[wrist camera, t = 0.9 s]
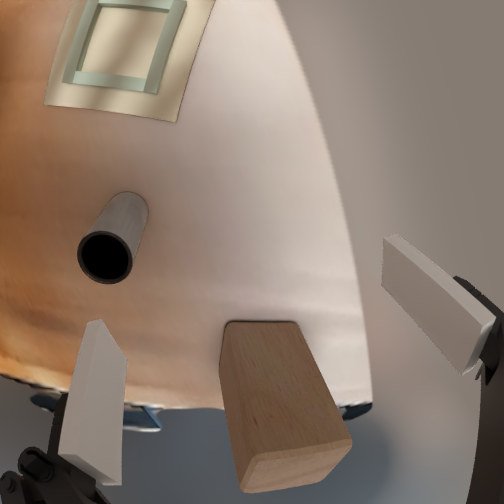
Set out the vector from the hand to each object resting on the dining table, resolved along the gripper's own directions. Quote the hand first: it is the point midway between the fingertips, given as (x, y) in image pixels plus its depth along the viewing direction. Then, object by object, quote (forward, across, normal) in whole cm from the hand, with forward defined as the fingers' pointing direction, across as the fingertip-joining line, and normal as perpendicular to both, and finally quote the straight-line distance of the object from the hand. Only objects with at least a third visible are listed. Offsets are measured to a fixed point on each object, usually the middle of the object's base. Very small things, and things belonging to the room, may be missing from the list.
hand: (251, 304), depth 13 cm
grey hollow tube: (+20, -9, 0) cm, 22 cm away
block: (+20, 0, -24) cm, 31 cm away
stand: (+20, -5, +16) cm, 26 cm away
